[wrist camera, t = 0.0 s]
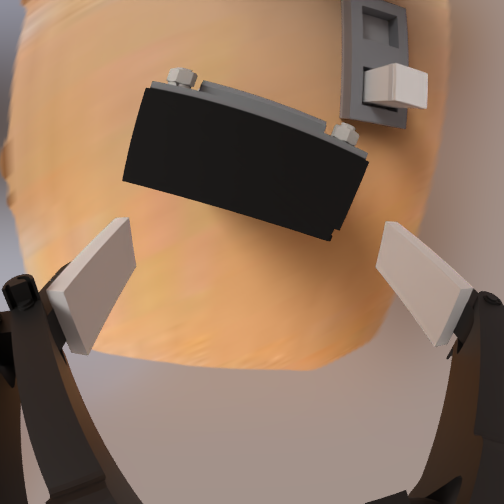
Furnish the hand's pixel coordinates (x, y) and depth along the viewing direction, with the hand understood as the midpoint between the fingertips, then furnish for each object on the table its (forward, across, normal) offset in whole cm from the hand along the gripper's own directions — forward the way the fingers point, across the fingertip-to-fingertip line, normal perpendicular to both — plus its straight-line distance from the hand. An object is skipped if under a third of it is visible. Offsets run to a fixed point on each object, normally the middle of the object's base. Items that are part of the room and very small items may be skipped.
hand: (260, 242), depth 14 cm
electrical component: (+28, 0, +3) cm, 28 cm away
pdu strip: (+28, +18, +17) cm, 37 cm away
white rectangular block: (+27, +18, +12) cm, 35 cm away
